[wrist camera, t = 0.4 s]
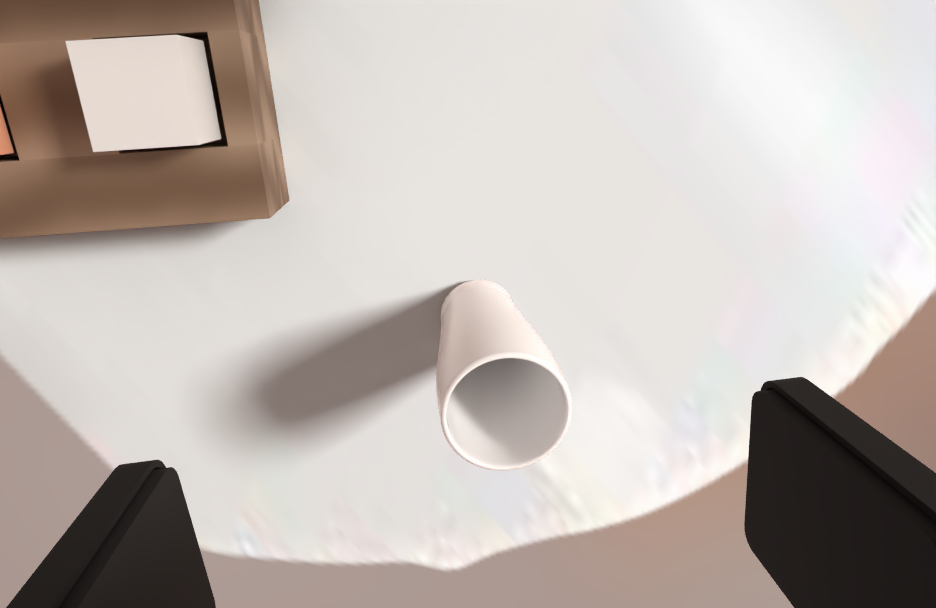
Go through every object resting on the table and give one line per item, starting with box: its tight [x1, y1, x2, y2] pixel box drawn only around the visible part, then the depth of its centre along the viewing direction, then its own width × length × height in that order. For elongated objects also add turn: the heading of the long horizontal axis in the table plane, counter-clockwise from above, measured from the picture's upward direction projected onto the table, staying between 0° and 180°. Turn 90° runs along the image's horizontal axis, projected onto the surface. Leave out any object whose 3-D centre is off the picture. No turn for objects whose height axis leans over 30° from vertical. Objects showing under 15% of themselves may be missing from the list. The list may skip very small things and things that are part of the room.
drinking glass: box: [436, 280, 572, 471], centre depth 38 cm, size 7×7×15 cm
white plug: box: [65, 35, 221, 152], centre depth 32 cm, size 5×5×4 cm
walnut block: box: [0, 0, 289, 238], centre depth 36 cm, size 14×20×6 cm
